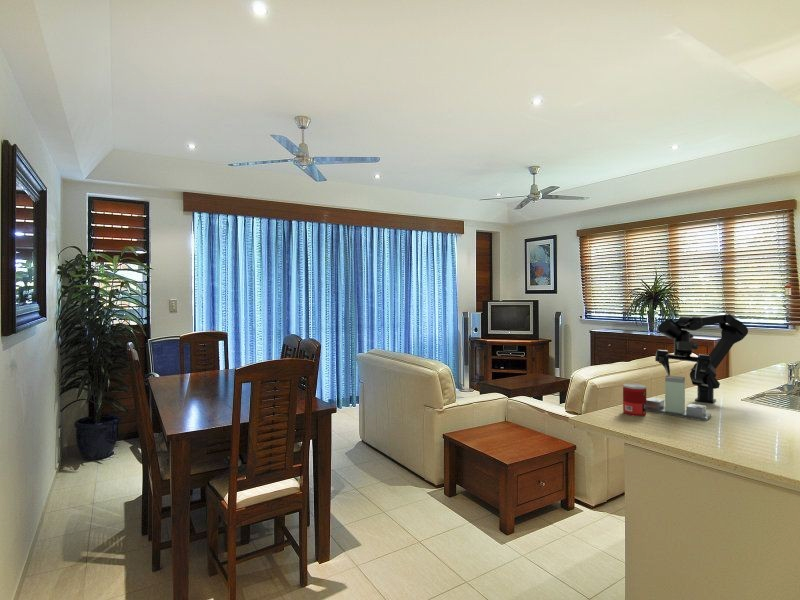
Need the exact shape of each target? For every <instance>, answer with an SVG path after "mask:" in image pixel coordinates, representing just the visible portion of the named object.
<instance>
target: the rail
mask: <svg viewBox="0 0 800 600" xmlns="http://www.w3.org/2000/svg"><path fill="white" fill-rule="evenodd" d="M646 412H651V413H656V414H662V413H663V414H662V415H667V414H669V415H668V416H673V415H674V417H678V418H685V417H686V418H687V419H691V418H693V420H697V419H699V420H698V421H703V420H707V421H709V419H711V418H712V413H708V412H707V405H704V404H703V405H702V404H696V403H689V404H688V405H685V411H684V413H677V412H670V411H665V398H664V399H663V398H657V397H649V398H646Z"/></svg>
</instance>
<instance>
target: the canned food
mask: <svg viewBox="0 0 800 600" xmlns="http://www.w3.org/2000/svg"><path fill="white" fill-rule="evenodd" d="M646 400H647V386H646V385H644V384H640V383H629V382H628V383H623V385H622V412H623V413H624V414H626V415H628V416H632V415H634V416H635V417H645V416H646V414H647V411H646ZM634 416H633V417H634Z"/></svg>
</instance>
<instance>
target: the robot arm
mask: <svg viewBox="0 0 800 600" xmlns="http://www.w3.org/2000/svg"><path fill="white" fill-rule="evenodd" d="M711 325H713V326H714V325H718V328H720V330H721V331H720V333H721V336H720V337H721V338H720V339H719V340H718V342H717V343H716V345H715V346H714V348H713V349H712V350H711V351H710V353H709V354H703V353H699V354H698V355H697V356H691V355H692V354H693V351H697V350H698V349H699V348H698V347H699V344H698V342H699V341H694V340H693V341H691V339H693V338H694V335H693V334H692V333H690V332H689V331H697V330H701V329H702V328H703V327H705V326H711ZM657 330H658V333H660V334H662V335H664V336H665V337H667V338H669V339H671V340H673V353H672V354H671V353H669V351H668V350H667V349H657V350H656V352H655V355H654V356H655V358H654V361H655V362H657V363H659V364H661V365H662V366H663V368H664V369H665V372H666V375H668V376H671V374H670V373H671V369H670V361H669V360H678V361H686V362H692V363H693V362H694V363H695V364H694V365H693V366H692V368H691V369H690V373H689V377H690V380H691V383H692V386H697V387H696V388H697V397H696V398H695V399H694V401H696V402H703V403H709V404H710V403H711V404H713V403H715V402H716V401H717V399H715V398H714V397H715V396H714V393H715V392H714V391H715V390H716V389H719V388H720V385H721V383H720V382H719V380H718V379H717V378H716V377H717V368H718V367H719V366H720V364H721V362H722V361H723V360H724V358H725V357H726V355H728V352H729V351H730V350H731V349H732V347H733V346H734V345H735V344H737V343H739V342H740V341H742V340H743V339H745V337H746V336H747V335H748V334H749V329H748V327H747V325H746V324H744V323H743V322H742V321H740V320H738V319H737V318H736V317H733V316H732V314H730V313H724V312H723V313H716V314H715V313H714V314H709V315H702V316H687V315H682V316H680V317H678V319H677V320H675V321H674V320H673V319H671V318H666V319H665V320H664V321H663V322H661V323H660V324H659V325H658V327H657Z"/></svg>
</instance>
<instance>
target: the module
mask: <svg viewBox="0 0 800 600" xmlns="http://www.w3.org/2000/svg"><path fill="white" fill-rule="evenodd" d="M664 388H665V389H664V406H665V411H670V412H677V413H684V411H685V410H686V390H685V389H686V377H685V376H679V375H678V376H677V375H668V374H666V375H665V377H664Z"/></svg>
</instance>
